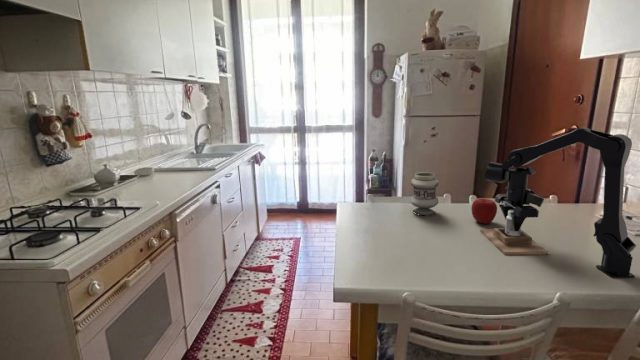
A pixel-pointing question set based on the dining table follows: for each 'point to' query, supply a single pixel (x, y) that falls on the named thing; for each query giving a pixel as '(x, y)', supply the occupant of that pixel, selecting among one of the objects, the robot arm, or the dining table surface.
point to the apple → (484, 210)
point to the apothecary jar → (424, 193)
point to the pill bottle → (511, 226)
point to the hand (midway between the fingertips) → (513, 228)
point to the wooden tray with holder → (513, 242)
